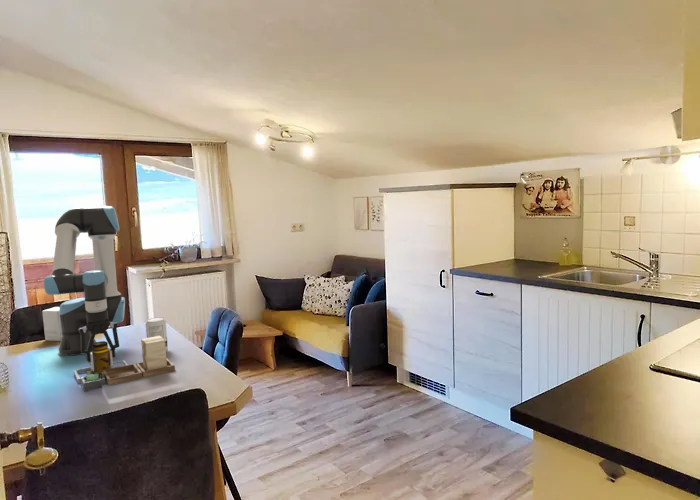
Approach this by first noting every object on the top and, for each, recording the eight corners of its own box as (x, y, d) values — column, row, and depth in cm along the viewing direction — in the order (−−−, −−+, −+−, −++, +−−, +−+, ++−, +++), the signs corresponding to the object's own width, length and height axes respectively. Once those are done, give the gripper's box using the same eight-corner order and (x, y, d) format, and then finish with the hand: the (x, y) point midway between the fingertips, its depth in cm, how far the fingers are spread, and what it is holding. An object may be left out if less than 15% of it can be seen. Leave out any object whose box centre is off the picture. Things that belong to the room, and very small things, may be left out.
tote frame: (73, 373, 199) (73, 370, 199) (124, 363, 210) (124, 359, 210) (78, 383, 189) (77, 379, 189) (131, 371, 199) (130, 368, 199)
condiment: (113, 373, 198) (110, 343, 197) (89, 378, 194) (86, 347, 192) (110, 367, 204) (108, 339, 203) (87, 372, 200) (84, 343, 198)
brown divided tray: (102, 378, 193) (101, 370, 193) (166, 364, 207) (166, 356, 206) (108, 388, 183) (107, 380, 182) (175, 373, 196) (175, 365, 196)
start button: (86, 380, 186) (85, 375, 186) (98, 378, 188) (97, 373, 188) (87, 384, 183) (87, 378, 183) (99, 381, 185) (99, 376, 185)
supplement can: (143, 355, 220) (141, 321, 218) (157, 349, 228) (155, 316, 226) (158, 356, 217) (155, 322, 215) (172, 350, 224) (169, 317, 223)
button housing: (81, 384, 187) (80, 377, 187) (102, 380, 191) (101, 372, 191) (84, 391, 181) (83, 383, 180) (105, 386, 185) (105, 378, 184)
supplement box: (74, 335, 254) (71, 306, 252) (60, 341, 245) (57, 311, 243) (59, 335, 256) (56, 306, 254) (44, 340, 247) (41, 310, 245)
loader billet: (143, 368, 199) (141, 338, 198) (161, 364, 203) (159, 335, 202) (148, 374, 193) (146, 343, 191) (167, 370, 197) (165, 340, 195)
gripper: (70, 316, 188) (76, 376, 191) (125, 308, 199) (129, 364, 202) (67, 312, 194) (73, 370, 197) (121, 304, 205) (126, 359, 208)
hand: (102, 367), depth 199 cm, fingers closed on condiment, 6 cm apart
